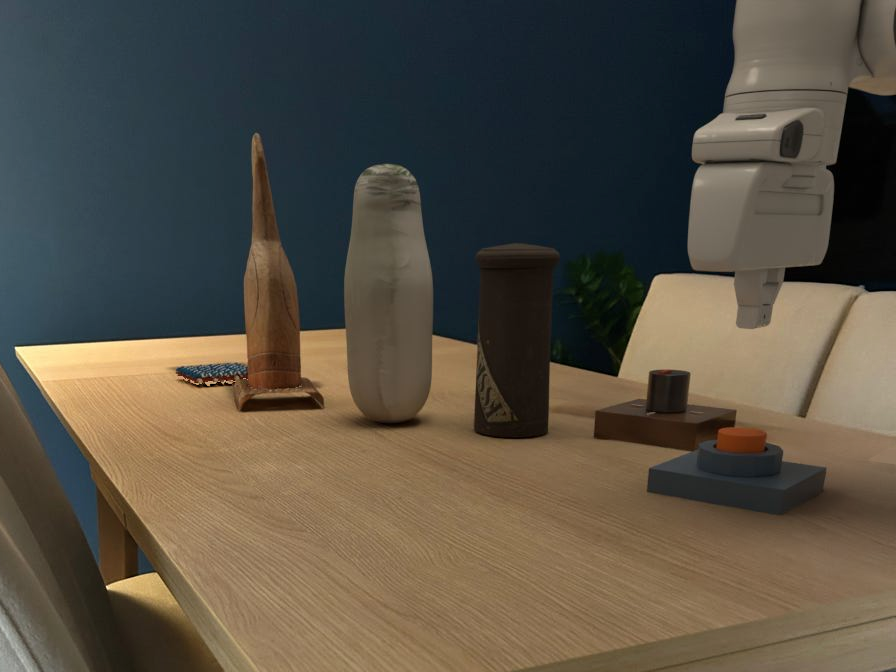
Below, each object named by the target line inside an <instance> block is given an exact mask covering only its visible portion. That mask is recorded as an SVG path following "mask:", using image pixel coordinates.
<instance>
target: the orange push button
mask: <svg viewBox="0 0 896 672" xmlns="http://www.w3.org/2000/svg"><path fill="white" fill-rule="evenodd" d="M767 434H768V433H767V432H766V430H762V429H758V428H754V427H753V428H752V427H744V426H743V427H742V426H735V427H729V428H722V429H719V431H718V438H717V446H716V449H719V450H722V451H728V452H735V453H760V452H764V450H765V443H766V442H767V437H768V435H767Z"/></svg>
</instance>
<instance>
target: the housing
mask: <svg viewBox="0 0 896 672" xmlns="http://www.w3.org/2000/svg"><path fill="white" fill-rule="evenodd" d="M716 446H717V440H709V441H705V442H703V443H700V444H699V445H698V450H695V451H689V452H688V453H684V454H682V455H679V456H677V457H674V458H671V459H668V460H666V461H663V462H661V463H659V464H656V465H653V466H651V467H649V468H648V474H647V484H646V493H650V494H657V495H662V496H668V497H674V498H679V499H683V500H684V499H685V500H689V501H696V502H701V503H702V502H703V503H708V504H714V505H717V506H724V507H731V508H735V509H742V510H747V511H752V512H756V513H757V512H758V513H764V514H768V515H769V514H770V515H775V516H782V515H784V514H786V513H788V512H789V511H791V510H792V509H794V508H796V507H798V506H800V505H801V504H803V503H805V502H807V501H809V500H811V499H813V498H814V497H816V496H817V495H819V494H821V493H823V492H824V487H825V481H826V475H827V468H828V467H826V466H819V465H813V464H805V463H797V462H792V461H784V460H783V456H784V450H783V448H782V447H781V446H780V445H777V444H773V443H770V442H767V441H766V443H765V450H764V452H760V453H735V452H728V451H722V450H719V449H716Z"/></svg>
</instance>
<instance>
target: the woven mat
mask: <svg viewBox="0 0 896 672" xmlns="http://www.w3.org/2000/svg"><path fill="white" fill-rule="evenodd" d="M175 375H176V376H177V377H178V376H183V377H184V378H185V379H186V378H187V379H189V380H192V381H194V383H199V384H200V383H203V384H204V383H205V382H208V381H213V382H218V381H220V382H224V380H226V381H229V382H233V381H237V380H239V379H243V378H246V379H248V365H247V366H246V365H245V364H243V365H242V364H241V363H238V362H236V361H235V362H234V363H232V362H230V363H229V362H227V363H222V364H221V363H217V364H215V363H213V364H212V363H211V364H210V363H209V364H207V365H206V364H204V365H203V364H199V365H196V364H195V366H193V365H189V366H187V365H186V366H185V365H183V366H180V367H176V369H175ZM231 380H233V381H231Z"/></svg>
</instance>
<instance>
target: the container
mask: <svg viewBox="0 0 896 672" xmlns="http://www.w3.org/2000/svg"><path fill="white" fill-rule="evenodd" d="M560 260H561V254H560V252H559V251H558V250H556V248H553V247H547V246H541V245H536V244H528V243H519V242H517V243H516V242H514V243H508V244H501V245H494V246H490V247H484V248H481V249H480V250H479V251H478V252H477V253H476V254H475V263H476V264H477V266H478V268H479V294H478V295H479V296H478V322H477V324H478V325H477V328H478V329H477V342H476V343H477V346H476V348H477V350H476V369H475V371H476V372H475V390H474V391H475V393H474V415H473V416H474V417H473V429H474V430H475V432H477V433H479V434H482V435H486V436H491V437H498V438H500V437H501V438H532V437H538V436H543V435H545V434H547V433H548V431H549V421H550V420H549V416H550V378H551V377H550V373H551V344H552V343H551V338H552V310H553V291H554V273H555V272H554V271H555V268H557V266H558V264H559V263H560Z"/></svg>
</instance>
